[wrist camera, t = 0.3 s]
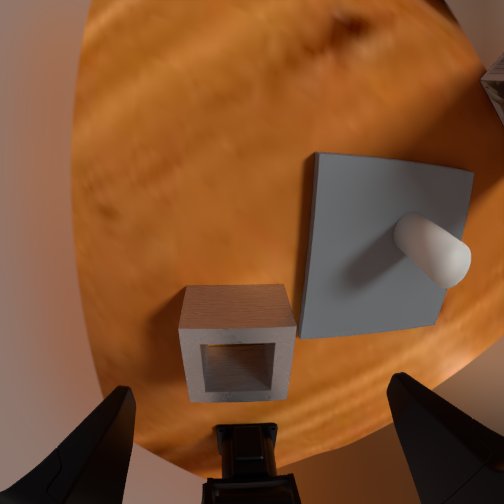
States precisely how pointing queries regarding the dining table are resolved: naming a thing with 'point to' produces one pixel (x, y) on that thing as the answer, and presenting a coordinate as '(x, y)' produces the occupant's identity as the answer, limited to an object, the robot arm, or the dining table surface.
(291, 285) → the dining table surface
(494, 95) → the coffee box
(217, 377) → the collar
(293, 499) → the robot arm
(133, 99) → the dining table surface
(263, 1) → the dining table surface
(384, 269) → the duct plate
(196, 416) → the dining table surface
